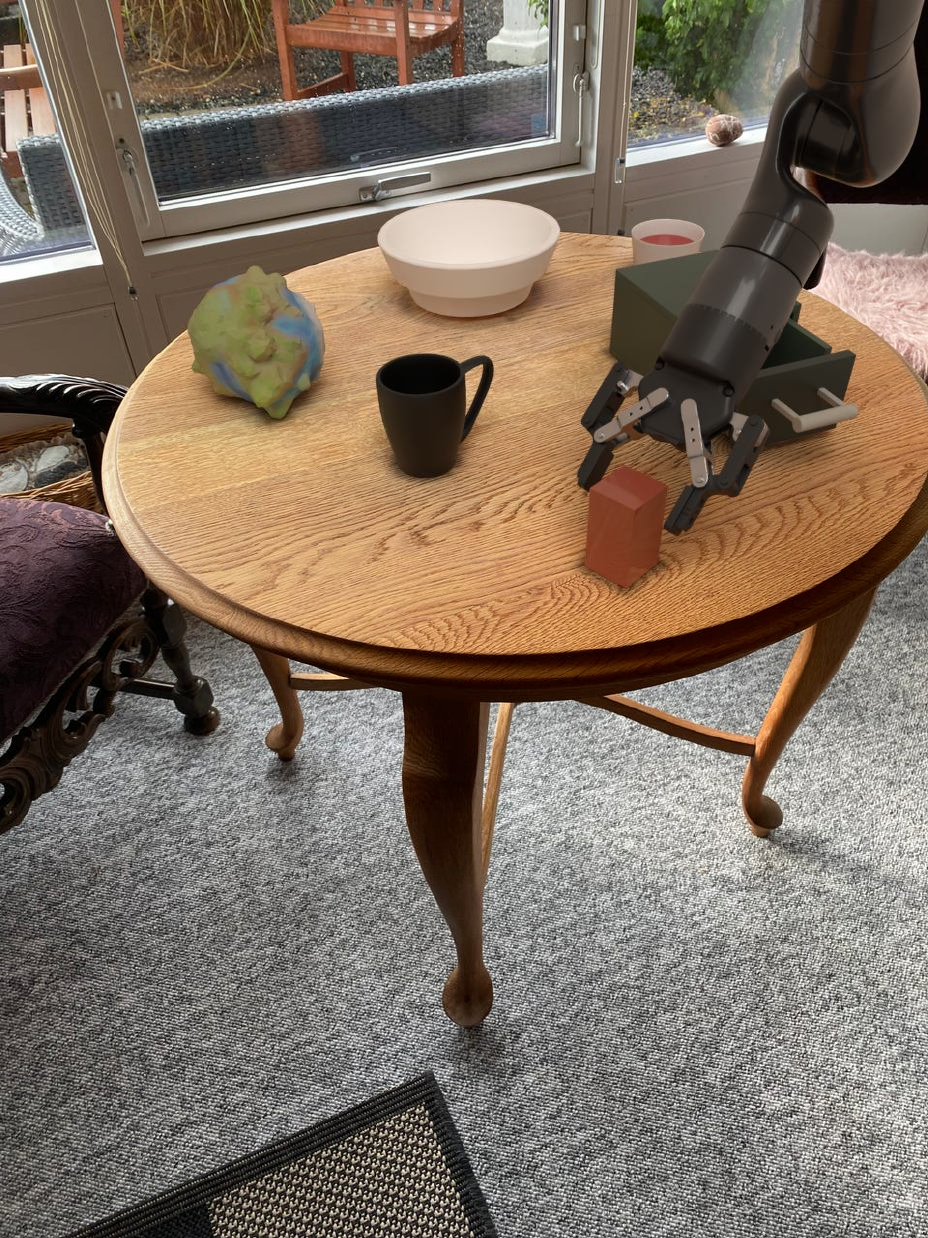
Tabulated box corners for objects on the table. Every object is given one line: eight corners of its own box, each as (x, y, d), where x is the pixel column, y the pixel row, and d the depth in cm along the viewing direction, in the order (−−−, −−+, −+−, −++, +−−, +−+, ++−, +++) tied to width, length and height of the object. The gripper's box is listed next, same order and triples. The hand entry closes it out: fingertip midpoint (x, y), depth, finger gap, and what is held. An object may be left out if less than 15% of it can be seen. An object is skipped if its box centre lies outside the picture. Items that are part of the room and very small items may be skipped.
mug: (516, 454, 88) (517, 365, 82) (412, 496, 84) (403, 405, 77) (471, 419, 93) (468, 333, 87) (370, 457, 89) (359, 369, 82)
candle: (655, 262, 121) (660, 213, 116) (711, 279, 116) (719, 229, 112) (613, 283, 116) (616, 233, 112) (669, 302, 111) (676, 251, 107)
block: (615, 541, 78) (623, 464, 72) (657, 563, 75) (669, 484, 70) (583, 566, 75) (589, 487, 70) (626, 589, 73) (635, 510, 68)
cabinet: (782, 391, 95) (802, 303, 88) (677, 416, 92) (690, 327, 85) (704, 330, 106) (717, 248, 99) (609, 351, 103) (615, 268, 96)
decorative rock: (309, 234, 91) (164, 248, 91) (308, 346, 83) (149, 362, 83) (334, 337, 103) (206, 349, 103) (335, 443, 95) (197, 457, 96)
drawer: (868, 453, 84) (892, 378, 79) (764, 481, 82) (782, 405, 76) (752, 363, 98) (766, 294, 92) (659, 385, 95) (668, 314, 90)
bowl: (374, 272, 122) (367, 208, 116) (533, 253, 124) (534, 190, 119) (396, 346, 106) (389, 276, 100) (579, 323, 108) (583, 253, 103)
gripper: (637, 278, 70) (537, 463, 72) (803, 331, 62) (686, 536, 65) (668, 319, 76) (576, 489, 78) (822, 372, 69) (716, 558, 71)
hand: (626, 510), depth 71 cm, fingers open, 8 cm apart
